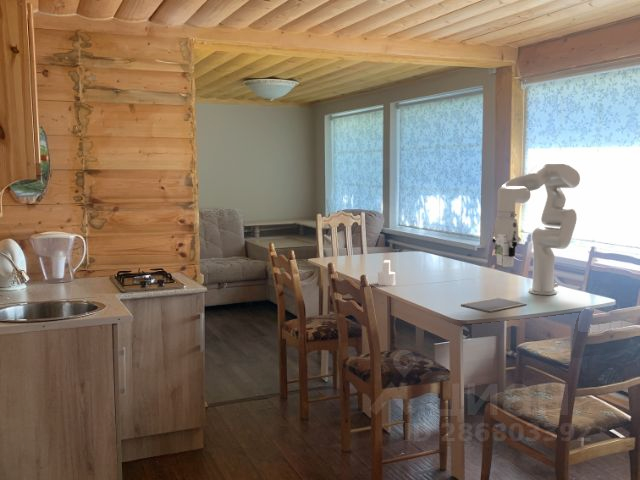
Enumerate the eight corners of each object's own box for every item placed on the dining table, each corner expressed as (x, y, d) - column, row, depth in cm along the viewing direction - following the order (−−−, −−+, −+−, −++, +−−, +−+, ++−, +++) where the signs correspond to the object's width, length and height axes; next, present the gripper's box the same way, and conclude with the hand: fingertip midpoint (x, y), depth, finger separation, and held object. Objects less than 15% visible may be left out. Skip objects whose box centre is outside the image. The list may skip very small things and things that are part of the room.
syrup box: (514, 266, 282) (515, 233, 280) (502, 267, 281) (503, 234, 279) (506, 264, 288) (507, 232, 286) (495, 265, 286) (496, 232, 284)
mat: (497, 298, 294) (497, 297, 294) (526, 305, 281) (526, 303, 281) (460, 305, 280) (460, 304, 280) (489, 312, 267) (489, 310, 267)
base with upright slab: (394, 286, 325) (394, 262, 323) (376, 285, 327) (377, 262, 325) (396, 282, 334) (396, 260, 332) (378, 282, 335) (379, 259, 334)
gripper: (527, 216, 276) (526, 257, 278) (496, 213, 291) (495, 252, 293) (516, 217, 272) (515, 258, 274) (485, 214, 286) (484, 253, 289)
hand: (504, 255), depth 283 cm, fingers closed on syrup box, 6 cm apart
